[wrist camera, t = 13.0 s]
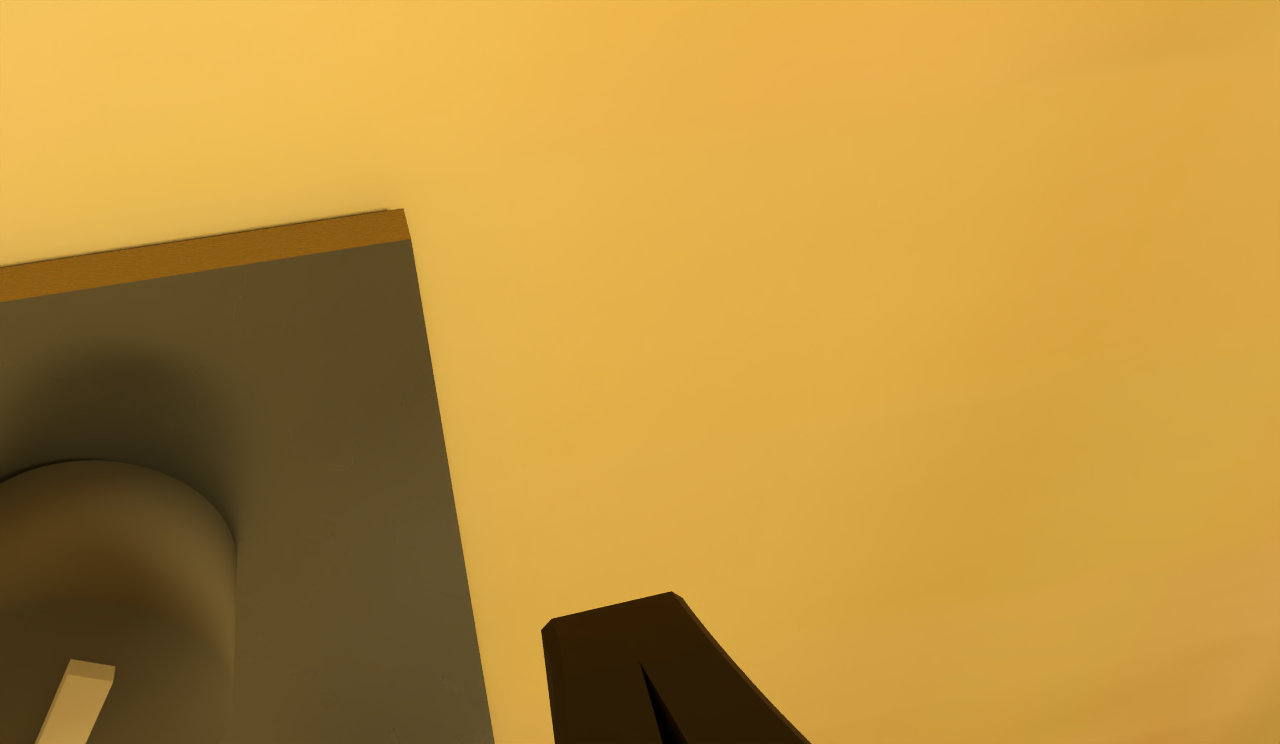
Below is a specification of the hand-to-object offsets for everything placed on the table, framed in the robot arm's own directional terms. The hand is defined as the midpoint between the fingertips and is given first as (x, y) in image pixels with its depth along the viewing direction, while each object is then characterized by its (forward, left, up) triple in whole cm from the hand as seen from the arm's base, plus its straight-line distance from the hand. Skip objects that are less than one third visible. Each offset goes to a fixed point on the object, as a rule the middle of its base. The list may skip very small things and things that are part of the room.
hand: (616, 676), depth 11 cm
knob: (-6, +8, -8) cm, 13 cm away
